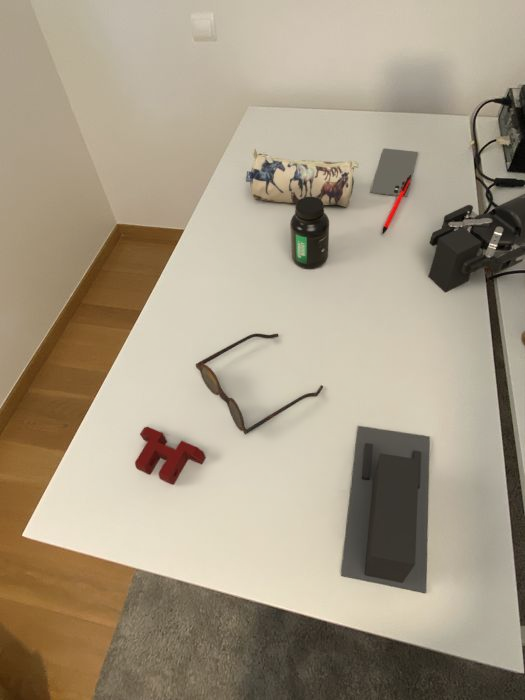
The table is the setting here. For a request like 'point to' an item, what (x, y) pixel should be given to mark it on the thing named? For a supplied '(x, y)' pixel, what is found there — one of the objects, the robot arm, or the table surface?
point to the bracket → (166, 455)
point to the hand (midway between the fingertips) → (447, 254)
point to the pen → (396, 204)
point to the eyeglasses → (234, 410)
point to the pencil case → (301, 180)
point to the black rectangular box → (453, 258)
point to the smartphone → (394, 172)
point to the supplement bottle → (309, 233)
